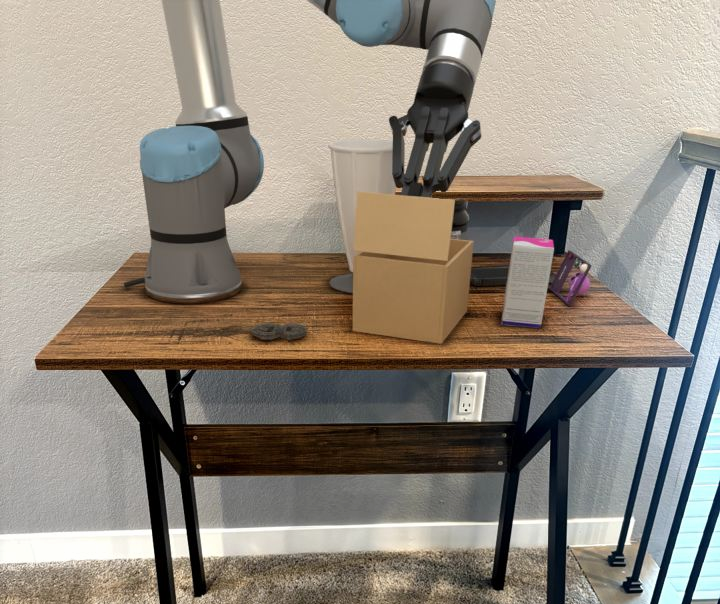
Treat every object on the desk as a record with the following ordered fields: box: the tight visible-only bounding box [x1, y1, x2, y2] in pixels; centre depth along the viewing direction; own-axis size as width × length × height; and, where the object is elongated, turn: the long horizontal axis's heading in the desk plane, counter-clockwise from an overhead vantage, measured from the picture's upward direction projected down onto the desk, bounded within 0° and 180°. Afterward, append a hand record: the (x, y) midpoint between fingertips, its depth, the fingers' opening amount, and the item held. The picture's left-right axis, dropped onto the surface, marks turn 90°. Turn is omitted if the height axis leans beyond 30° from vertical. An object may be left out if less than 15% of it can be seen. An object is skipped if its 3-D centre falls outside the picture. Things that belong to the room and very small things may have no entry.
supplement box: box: [500, 235, 555, 329], centre depth 105 cm, size 6×6×12 cm
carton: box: [352, 239, 475, 345], centre depth 104 cm, size 15×13×10 cm
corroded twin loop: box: [249, 322, 309, 341], centre depth 100 cm, size 5×8×1 cm, turn 89°
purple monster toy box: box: [549, 249, 592, 307], centre depth 117 cm, size 7×5×9 cm
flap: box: [353, 192, 455, 261], centre depth 94 cm, size 7×13×1 cm
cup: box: [327, 138, 397, 294], centre depth 117 cm, size 12×12×22 cm
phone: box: [470, 264, 557, 287], centre depth 126 cm, size 8×1×15 cm
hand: (406, 231), depth 96 cm, fingers closed
